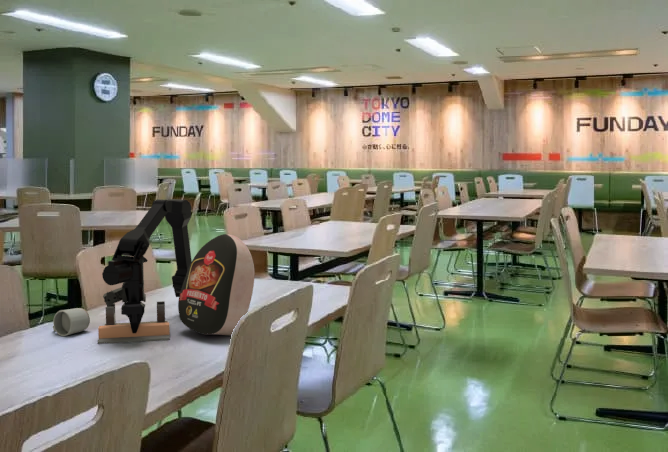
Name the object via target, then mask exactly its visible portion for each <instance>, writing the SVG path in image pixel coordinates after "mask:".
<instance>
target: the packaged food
mask: <svg viewBox="0 0 668 452" xmlns="http://www.w3.org/2000/svg"><path fill="white" fill-rule="evenodd" d="M191 260H192V262H191V264H190V266H189V268H188V271H187V274H186V277H185V280H184V282H183V285H182V288H181V292H180V296H179V297H178V300H177V301H178V302H177V304H178V305H177V309H178V310H177V311H178V316H179V319H180V322H182V324H183V325H184V326H185V327H187V328H188V329H190V330H192V331H194V332H196V333H199V334H201V335H220V336H232V335H231V334H232V332H233V329H234V328H235V326H236V325H237V323H238V321H239V320H240V318H241V317H242V316H243V315H245V314H246V313H247V312H249V309H250V305H251V302H252V297H253V293H254V286H255V285H254V284H255V275H256V274H255V265H254V259H253V256H252V254H251V252H250V250H249V247H248V246H247V244H245V242H243V240H242V239H240V237H238V236H236V235H234V234H229V233H224V234H219V235H218V236H216V237H213V238H212V239H211V240H209V241H208V242H206V243H204V245H203V246H202V247H200V248H199V250H198V251H197V252H196V254H195V256H194V257H193V259H191ZM247 314H248V313H247Z"/></svg>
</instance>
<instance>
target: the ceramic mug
mask: <svg viewBox="0 0 668 452" xmlns="http://www.w3.org/2000/svg"><path fill="white" fill-rule="evenodd" d="M90 321H91V320H90V315H89V312H88V311H87V310H86V309H84V308H82V307H79V308H78V307H76V308H75V307H74V308H70V309H69V308H68V309H60V310H58V311H57V312H56V313H55V314H54V317H53V320H52V322H53V325H52V328H53V332H56V333H57V334H58V335H59V336H61V337H67V336H70V335H74V334H78V333H82V332H83V331H85V330H87V329H88V328H89V326H90V324H91V323H90Z"/></svg>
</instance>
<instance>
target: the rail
mask: <svg viewBox="0 0 668 452" xmlns="http://www.w3.org/2000/svg"><path fill="white" fill-rule="evenodd" d="M169 329H170V322H169V321H168V322H166V323H146V324H140V325H139V327H138V330H137V333H132V329H131V325H130V324H126V325H107V326H104V325H98V333H97V334H98V339H100V338H118V337H137V336H156V335H170V334H171V333H170V331H169Z"/></svg>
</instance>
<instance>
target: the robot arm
mask: <svg viewBox="0 0 668 452" xmlns="http://www.w3.org/2000/svg"><path fill="white" fill-rule="evenodd" d="M164 218H165V221H166V222H167V223H168V225H169V226H170V227H171V231H172V232H171V233H172V239H173V247H174V255H175V262H176V263H175V264H176V271H175V273H174V275H172V276H171V280H172V288H173V291H174V295H175V297H176V298H179V296H180V292H181V288H182V285H183V282H184V280H185V277H186V274H187V271H188V268H189V266H190V264H191V262H192V260H193V259H192V253H191V252H192V251H191V246H190V245H191V244H190V237H189V230H188V229H189V228H188V224H189V222H190V221H191V218H192V205H191V203H190V201H188V200H187V199H177V198H176V199H175V198H174V199H173V198H172V199H171V198H169V199H155V200H153V201H152V205H151V207H150V208H149V209H148V211H147V212H146V213H145V215H144V216H143V217H142V219H141V220H140V221H139V223H138V224H137V225H136V227H134V229H132V230H130V231H128V232H126V233H125V234H124V235H123V236H122V237H121V238H120V239H119V241H118V244H117V247H116V249H115V251H114V254H113V256H112V259H111V260H108V262H107V265H106V266H105V267H104V268H103V271H102V274H101V275H102V280H103V281H104V283H105V284H106V285H108V286H115V285H119V284H122V285H121V287H119V288H115V289H113V290H111V289H110V291H106V293H104V294H103V296H102V297H103V301H104V303H105V306H106V307H107V306H110V305H112V304H114V303H115V304H116V303H118V302H122V303H123V304H122V305H121V308H120V310H121V311H120V312H121V315H122V316H126V317H127V318H128V320H129V321H128V322H129V323H130V325H131V329H132V333H137V330H138V327H139V325H140V322H142V319H143V317H144V315H145V310H146V309H145V308H146V304H145V303H146V302H147V296H146V295H147V294H146V293H145V280H144V279H145V278H144V264H145V263H148V259H147V258H146V257H145V255H146V253H147V251H148V249H149V247H150V244H151V242H150V238H151V236H152V235H153V234H154V233H155V231H156V229H157V228H158V227H159V226H160V224H161V222H162V221H163V220H164Z"/></svg>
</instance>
